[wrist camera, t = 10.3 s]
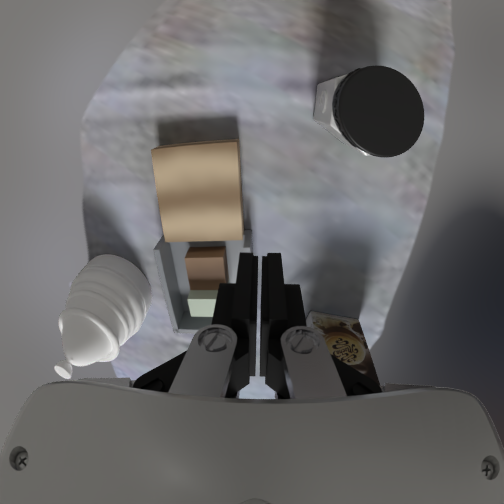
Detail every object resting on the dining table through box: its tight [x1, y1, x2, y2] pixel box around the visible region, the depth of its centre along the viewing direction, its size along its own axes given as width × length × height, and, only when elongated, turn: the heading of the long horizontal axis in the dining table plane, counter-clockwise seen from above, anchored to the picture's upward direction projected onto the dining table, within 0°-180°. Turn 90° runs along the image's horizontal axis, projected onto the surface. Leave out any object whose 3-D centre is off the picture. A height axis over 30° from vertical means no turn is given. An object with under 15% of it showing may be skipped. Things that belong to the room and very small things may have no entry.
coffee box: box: [306, 311, 380, 385], centre depth 40 cm, size 9×6×16 cm
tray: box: [153, 230, 253, 334], centre depth 40 cm, size 14×12×5 cm
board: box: [151, 139, 244, 242], centre depth 35 cm, size 12×10×3 cm
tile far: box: [187, 280, 229, 317], centre depth 40 cm, size 5×5×3 cm
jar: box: [313, 66, 424, 157], centre depth 26 cm, size 9×8×12 cm
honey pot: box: [54, 254, 152, 379], centre depth 37 cm, size 13×13×18 cm
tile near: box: [184, 246, 229, 290], centre depth 39 cm, size 5×5×3 cm
